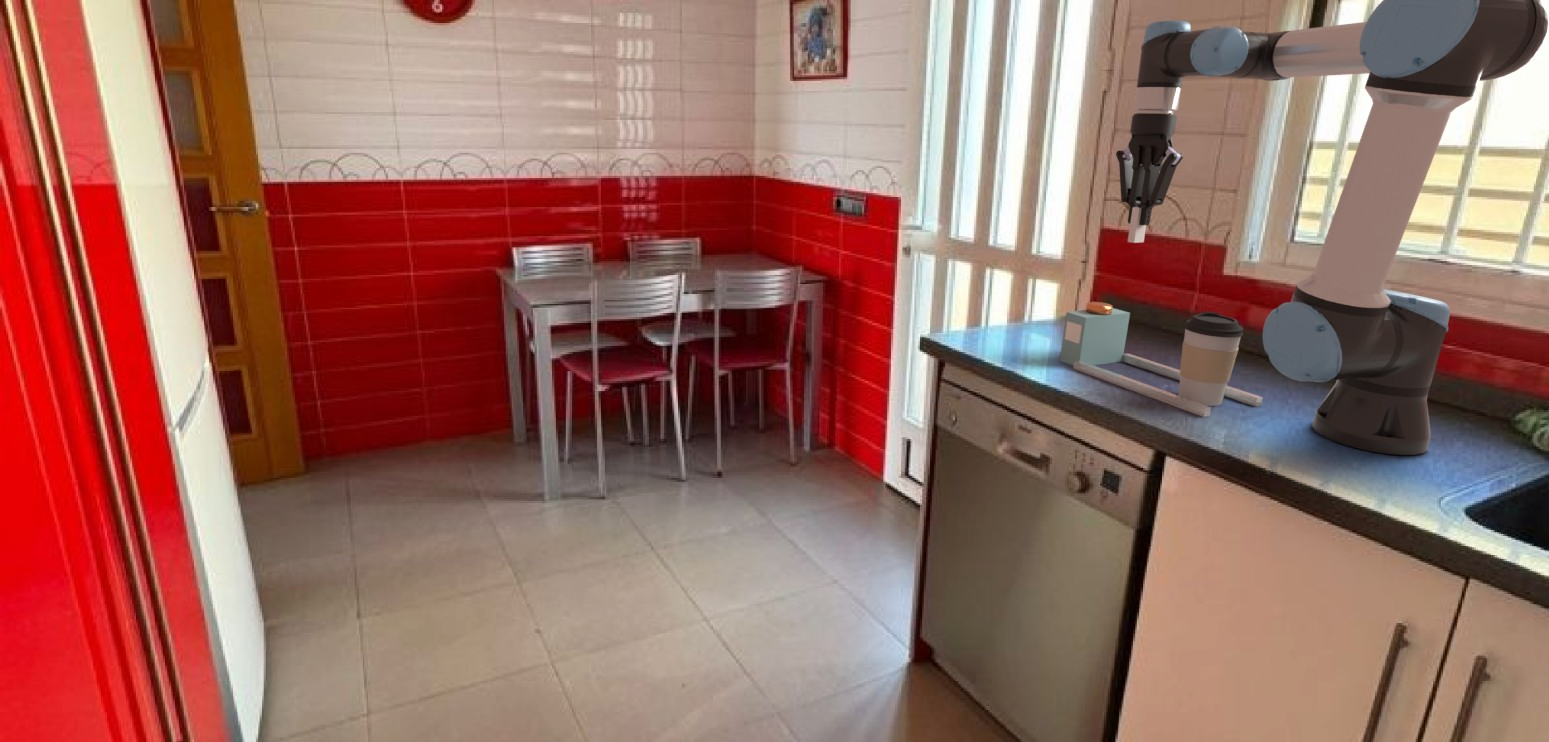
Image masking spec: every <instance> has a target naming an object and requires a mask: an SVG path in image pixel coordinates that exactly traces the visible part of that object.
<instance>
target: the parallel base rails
mask: <svg viewBox="0 0 1549 742" xmlns="http://www.w3.org/2000/svg"><path fill="white" fill-rule="evenodd" d="M1121 362H1122V363H1126V364H1129V365H1132V366H1134V367H1138V368H1141V369H1144V370H1147V371H1149V372H1152V373H1156V374H1159V375H1161V376H1165V377H1167V378H1170V379H1173V380H1175V381H1179V382H1180V369H1177V368H1174V367H1171V366H1168V365H1165V364H1161V363H1159V362H1155V361H1152V360H1150V359H1147V358H1144V357H1141V356H1137V355H1134V354H1131V353H1129V352H1128V353H1124V354H1123V360H1122V361H1121ZM1072 369H1073V370H1076V371H1079V372H1081V373H1083V374H1087V375H1089V376H1092V377H1095V378H1097V379H1100V380H1102V381H1105V382H1108V383H1111V384H1114V385H1116V386H1119V387H1122V388H1125V389H1126V390H1130V391H1132V392H1135V393H1137V394H1141V395H1143V396H1145V397H1148V398H1151V399H1155V400H1156V401H1159V402H1161V403H1165V404H1167V405H1170V406H1173V407H1176V408H1178V409H1181V410H1184V411H1187V412H1188V413H1192V414H1194V415H1197V416H1200V417H1202V418H1205V417H1210V416H1211V411H1212V406H1206V405H1203V404H1200V403H1198V402H1195V401H1192V400H1189V399H1186V398H1184V397H1181V396H1178V394H1174V393H1172V392H1169V391H1167V390H1164V389H1161V388H1158V387H1155V386H1153V385H1150V384H1147V383H1144V382H1143V381H1142V382H1141V381H1139V380H1136V379H1133V378H1130V377H1127V376H1125V375H1121V374H1119V373H1117V372H1114V371H1111V370H1108V369H1105V368H1102V367H1099V366H1098V365H1091V364H1088V363H1086V362H1083V361H1080V360H1079V361H1074V366H1073V367H1072ZM1223 397H1226V398H1229V399H1232V400H1235V401H1237V402H1240V403H1244V404H1247V405H1249V406H1252V407H1259V406H1262V403H1263V402H1262V401H1263V398H1264V397H1263V396H1260V395H1258V394H1254V393H1251V392H1248V391H1245V390H1241V389H1239V388H1236V387H1232V386H1229V385H1227V386H1226V389H1225V393H1224V396H1223Z"/></svg>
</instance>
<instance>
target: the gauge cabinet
mask: <svg viewBox="0 0 1549 742" xmlns="http://www.w3.org/2000/svg"><path fill="white" fill-rule="evenodd" d="M1065 312H1066V314H1065V320H1064V328H1063V335H1062V343H1061V349H1060V356H1059V362H1062V363H1064V364H1067V365H1070V366H1074V361H1079V360H1080V361H1083V362H1086V363H1088V364H1091V365H1094V366H1099V365H1107V364H1112V363H1113V364H1114V363H1121V362H1123V361H1122V360H1123V354H1125V346H1126V342H1127V341H1126V340H1127V335H1128V330H1129V322H1130V315H1131V312H1128V311H1125V310H1121V309H1118V308H1114V307H1113V308H1112V313H1111V314H1108V315H1098V314H1093V313H1089V312H1087V311H1086V309H1083V310H1082V309H1081V310H1072V311H1065Z"/></svg>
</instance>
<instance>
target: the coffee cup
mask: <svg viewBox="0 0 1549 742" xmlns="http://www.w3.org/2000/svg"><path fill="white" fill-rule="evenodd" d="M1183 328H1184V330H1185V331H1184V338H1183V341H1182V349H1181V350H1182V351H1181V359H1180V367H1179V370H1180V381H1179V385H1178V394H1177V395H1178V396H1181V397H1184V398H1186V399H1189V400H1192V401H1195V402H1198V403H1200V404H1203V405H1206V406H1209V407H1214V406H1215V407H1216V406H1219V405H1222V403H1223V399H1224V397H1225V396H1224V393H1225V389H1226V386H1228V382H1230V380H1231V376H1232V372H1233V368H1234V366H1235V362H1236V358H1237V356H1238V352H1239V349H1240V348H1239V345H1240V341H1241V338H1242V336H1244V333H1243V331H1244V327H1243V326H1242V325H1239V321H1238V320H1237V319H1236V318H1233V317H1229V316H1225V315H1222V314H1219V313H1218V312H1214V311H1204V312H1201V313H1199V314H1194V315H1193V316H1192V317H1191V318H1190V319H1187V320H1186V321H1185V324H1184V327H1183Z"/></svg>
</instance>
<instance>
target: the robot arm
mask: <svg viewBox="0 0 1549 742" xmlns="http://www.w3.org/2000/svg"><path fill="white" fill-rule="evenodd" d="M1191 27H1192V26H1191V23H1189V22H1188V21H1185V20H1160V21H1159V20H1158V21H1152V22H1150V23H1148V25H1146V27H1145V30H1144V35H1143V41H1142V43H1141V45H1140V46H1141V47H1140V49H1141V52H1140V60H1139V67H1138V74H1137V83H1136V89H1135V94H1134V101H1133V109H1132V110H1133V111H1136V113H1133V115H1132V116H1131V124H1130V129H1129V130H1130V131H1129V132H1130V134H1131V137H1130V140H1129V142H1128V145H1127V147H1125V148H1124V149H1122V150H1117V151H1116V152H1115V156H1116V159H1117V161H1118V166H1119V168H1118V169H1119V177H1120V178H1119V181H1120V182H1119V183H1120V199H1121V200H1120V201H1121V202H1122V203H1126V204H1127V205H1128V206H1129V210H1128V217H1127V224H1129V229H1128V237H1127V243H1134V244H1136V243H1137V244H1139V243H1144V242H1145V237H1146V236H1145V235H1146V231H1147V230H1146V228H1147V226H1149V225H1150V223H1151V219H1152V212H1153V211H1152V210H1153V208H1154V207H1158V206H1162V205H1163V204H1164V201H1165V199H1166V195H1167V193H1168V190H1169V188H1170V185H1171V182H1172V180H1173V177H1174V175H1175V172H1176V169H1177V166H1178V165H1179V164H1180V163H1181V161H1182V160H1183V158H1184V155H1183V153H1182V152H1181V153H1180V152H1179V153H1178V152H1177V151H1176V150H1175V149H1174V148H1173V147H1174V145H1173V144H1174V143H1173V140H1172V139H1173V138H1172V137H1173V135H1175V131H1176V124H1177V119H1178V118H1177V114H1174V113H1175V112H1177V111H1178V110H1179V103H1180V98H1181V93H1182V86H1183V79H1184V78H1190V77H1191V78H1193V77H1194V78H1195V77H1197V78H1198V77H1199V78H1200V77H1209V78H1230V79H1232V78H1233V79H1250V80H1262V81H1268V82H1269V81H1272V82H1276V81H1282V80H1283V81H1284V80H1288V79H1290V78H1306V77H1323V76H1324V77H1325V76H1326V77H1327V76H1344V75H1362V74H1363V75H1365V74H1368V76H1367V80H1366V82H1365V85H1364V89H1365V91H1366V92H1367V93H1368V96H1370V98H1371V100H1372V105H1371V108H1370V111H1369V113H1368V116H1367V120H1366V122H1365V125H1364V128H1363V131H1362V133H1361V136H1360V140H1359V142H1358V145H1357V148H1356V149H1355V154H1354V157H1353V159H1352V162H1351V165H1350V168H1349V171H1348V174H1347V176H1346V179H1345V183H1344V185H1343V187H1342V190H1341V193H1340V197H1339V200H1338V202H1337V204H1336V207H1335V211H1334V213H1333V216H1332V219H1331V222H1330V225H1329V228H1328V231H1327V234H1326V236H1325V239H1324V242H1323V244H1322V247H1321V250H1320V253H1319V256H1318V259H1317V261H1316V265H1315V268H1314V270H1313V272H1311V274H1310V275H1307V276H1306V277H1303V278H1301V279H1299V280H1298V281H1297V282H1296V285H1295V289H1294V291H1293V294H1292V297H1291V300H1290V301H1289V302H1288V301H1287V302H1283V303H1282V304H1280V305H1279V306H1278V307H1276V308H1274V309H1273V310H1271V312H1270V313H1269V314H1268V315H1267V316H1266V319H1265V322H1264V325H1263V329H1262V344H1263V348H1264V351H1265V353H1266V354H1267V356H1268V359H1269V361H1270V363H1271V364H1272V366H1273V367H1274V368H1275V369H1276V370H1277V371H1278V372H1279V373H1281V374H1282V375H1283V376H1285V377H1287V378H1289V379H1292V380H1295V381H1299V382H1313V383H1326V382H1329V381H1335V384H1334V385H1333V386H1332V388H1331V389H1330V391H1329V392H1328V394H1327V396H1325V398H1324V399H1323V401H1322V402H1321V404H1320V405H1319V406H1318V409H1316V411H1315V412H1314V417H1313V422H1312V425H1311V426H1312V428H1313V430H1314V431H1315V432H1316V433H1318V434H1319V435H1320V436H1323V437H1325V438H1326V439H1329V440H1331V441H1333V442H1336V443H1339V444H1342V445H1345V446H1348V447H1351V448H1356V449H1358V450H1359V449H1360V450H1363V451H1369V452H1374V453H1380V454H1385V455H1387V454H1388V455H1394V456H1395V455H1398V456H1415V455H1421V454H1424V453H1426V452H1427V451H1428V448H1429V446H1430V441H1431V437H1432V433H1431V425H1430V416H1429V407H1428V395H1429V392H1430V388H1431V386H1432V382H1433V379H1434V375H1435V371H1436V368H1437V365H1438V360H1439V357H1440V355H1441V350H1442V347H1443V344H1444V341H1445V337H1446V334H1447V332H1448V331H1449V325H1448V324H1449V320H1450V315H1451V309H1450V306H1449V305H1448V304H1447V303H1446V302H1444V301H1442V300H1437V299H1433V298H1430V297H1425V296H1419V295H1416V294H1411V293H1405V292H1400V291H1395V290H1389V289H1385V288H1384V285H1385V283H1386V280H1387V278H1388V275H1389V273H1390V270H1391V267H1392V265H1393V262H1394V259H1395V257H1396V255H1397V252H1398V250H1399V247H1400V244H1401V242H1402V239H1403V236H1404V234H1405V231H1406V229H1407V226H1408V224H1409V221H1410V218H1411V216H1412V214H1413V210H1414V209H1415V206H1416V203H1417V201H1418V198H1419V195H1420V193H1421V190H1422V188H1423V186H1424V182H1425V180H1426V177H1427V175H1428V173H1429V170H1430V167H1431V165H1432V163H1433V160H1434V157H1435V155H1436V153H1437V149H1438V148H1439V144H1440V142H1441V139H1442V137H1443V134H1444V131H1445V129H1446V127H1447V125H1448V124H1447V123H1448V121H1449V119H1450V116H1451V114H1452V112H1453V111H1454V110H1456V109H1457V108H1458V107H1460V106H1462V105H1464V104H1465V103H1467V102H1469V101H1471V100H1472V99H1473V96H1474V93H1475V92H1476V89H1477V86H1478V84H1479V81H1482V82H1483V81H1491V80H1496V79H1498V78H1502V77H1506V76H1507V75H1510V74H1512V73H1514V72H1516V71H1518V70H1520V69H1521V68H1523V67H1524V66H1525V65H1527V64H1528V63H1530V62H1531V60H1532V59H1534V58H1535V57H1536V56H1537V54H1538V53H1539V52H1540V51H1541V49H1542V48H1543V47H1544V45H1545V43H1546V41H1547V39H1548V38H1549V37H1548V36H1549V7H1548V5H1547V3H1546V2H1545V0H1382V1H1381V2H1380V3H1379V4H1377V6H1376V8H1375V9H1374V10H1373V11H1372V13H1371V14H1370V16H1369V17H1368V19H1367V21H1363V22H1361V21H1360V22H1355V23H1354V22H1352V23H1346V24H1345V23H1343V24H1337V25H1329V26H1328V25H1327V26H1319V27H1309V28H1303V29H1293V30H1282V31H1276V32H1255V31H1254V32H1253V31H1243V30H1240V29H1239V28H1238V27H1235V26H1213V27H1211V28H1204V29H1197V30H1191V29H1192V28H1191Z"/></svg>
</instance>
